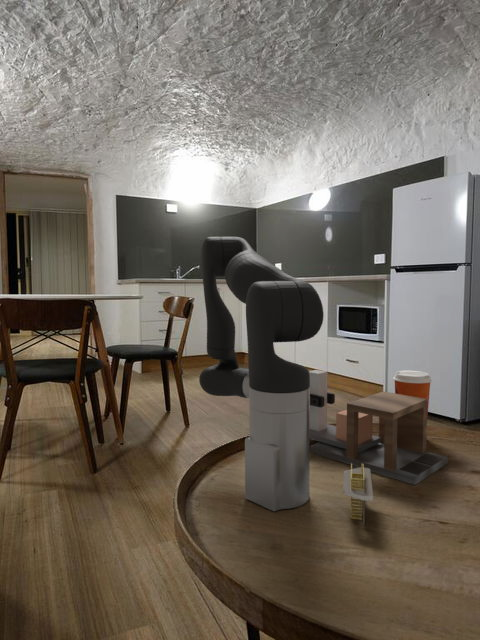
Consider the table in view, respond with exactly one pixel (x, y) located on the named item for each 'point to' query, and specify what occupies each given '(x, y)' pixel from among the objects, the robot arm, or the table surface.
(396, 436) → the tunnel
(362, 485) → the yellow ladder
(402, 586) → the table surface
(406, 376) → the paper cup
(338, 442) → the sled
